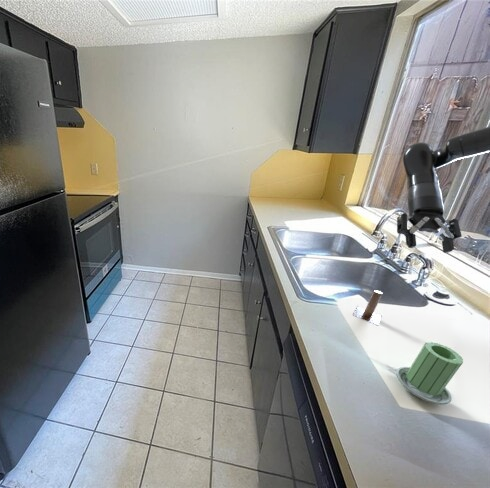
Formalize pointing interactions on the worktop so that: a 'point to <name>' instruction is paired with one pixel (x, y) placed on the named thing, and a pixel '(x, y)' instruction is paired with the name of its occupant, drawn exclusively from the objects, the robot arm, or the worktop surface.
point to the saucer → (437, 399)
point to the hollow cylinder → (433, 368)
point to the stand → (370, 309)
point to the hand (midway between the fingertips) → (430, 249)
